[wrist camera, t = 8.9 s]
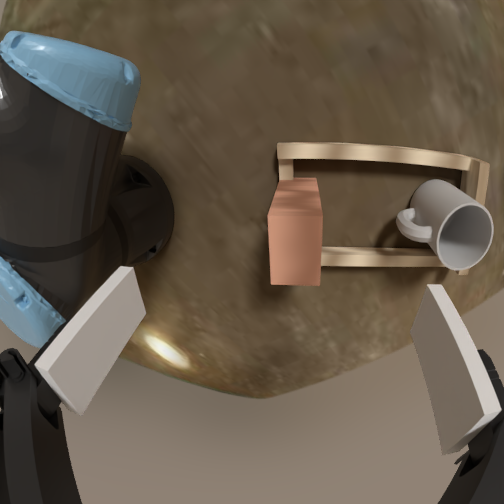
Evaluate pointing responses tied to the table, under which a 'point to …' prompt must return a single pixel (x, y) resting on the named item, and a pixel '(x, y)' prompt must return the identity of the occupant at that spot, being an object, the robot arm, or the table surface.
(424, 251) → the frame
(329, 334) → the table surface
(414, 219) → the cup
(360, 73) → the table surface
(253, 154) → the table surface
